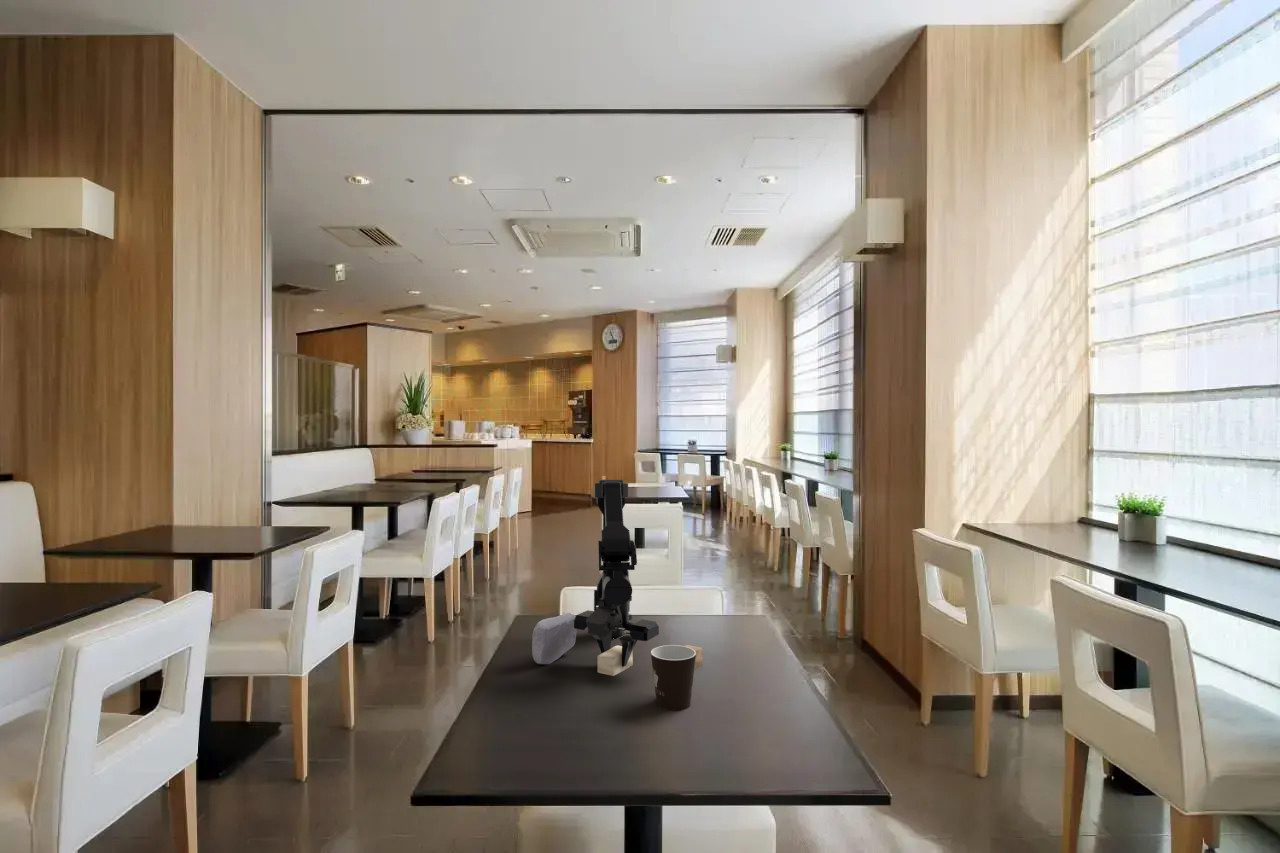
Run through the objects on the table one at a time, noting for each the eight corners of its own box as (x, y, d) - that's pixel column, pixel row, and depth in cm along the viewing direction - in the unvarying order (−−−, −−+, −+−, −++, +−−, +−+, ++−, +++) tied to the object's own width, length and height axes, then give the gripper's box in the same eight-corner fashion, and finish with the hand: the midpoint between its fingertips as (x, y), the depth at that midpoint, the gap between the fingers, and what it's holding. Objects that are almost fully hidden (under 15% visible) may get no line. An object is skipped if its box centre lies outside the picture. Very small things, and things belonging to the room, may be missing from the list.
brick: (686, 662, 155) (686, 644, 155) (702, 666, 152) (702, 648, 152) (667, 673, 148) (667, 654, 148) (683, 677, 146) (684, 658, 146)
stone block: (544, 671, 148) (544, 625, 148) (529, 666, 151) (529, 621, 151) (581, 656, 158) (581, 613, 158) (566, 652, 161) (566, 609, 160)
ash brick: (617, 663, 154) (617, 645, 154) (632, 666, 152) (632, 648, 152) (597, 674, 147) (597, 655, 147) (613, 677, 145) (613, 659, 145)
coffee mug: (693, 716, 126) (693, 661, 126) (646, 712, 128) (646, 658, 128) (700, 691, 137) (700, 641, 137) (657, 688, 139) (657, 639, 139)
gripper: (558, 595, 147) (558, 668, 147) (633, 607, 138) (633, 685, 138) (588, 584, 157) (587, 653, 157) (660, 595, 148) (659, 667, 148)
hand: (615, 664), depth 150 cm, fingers open, 4 cm apart
